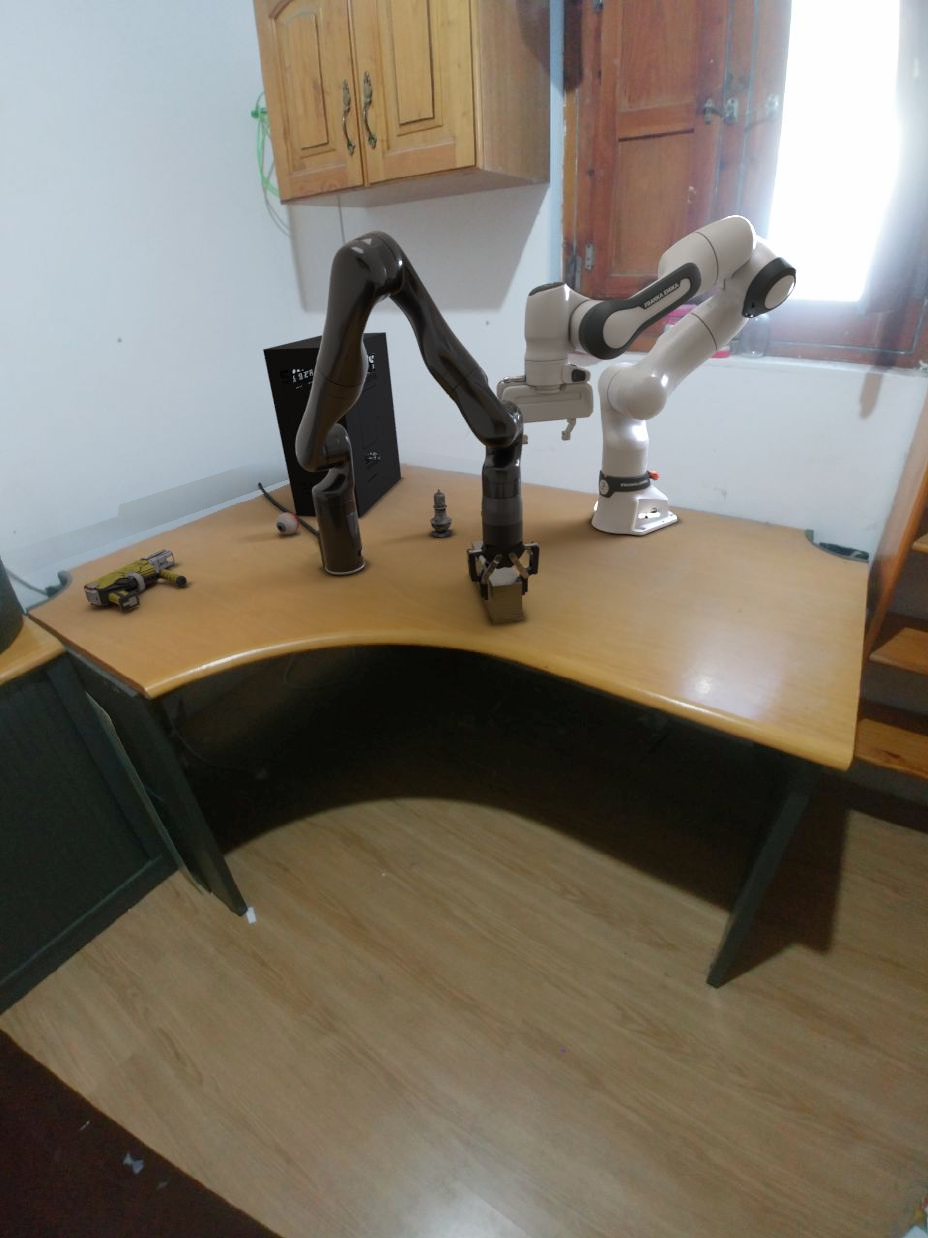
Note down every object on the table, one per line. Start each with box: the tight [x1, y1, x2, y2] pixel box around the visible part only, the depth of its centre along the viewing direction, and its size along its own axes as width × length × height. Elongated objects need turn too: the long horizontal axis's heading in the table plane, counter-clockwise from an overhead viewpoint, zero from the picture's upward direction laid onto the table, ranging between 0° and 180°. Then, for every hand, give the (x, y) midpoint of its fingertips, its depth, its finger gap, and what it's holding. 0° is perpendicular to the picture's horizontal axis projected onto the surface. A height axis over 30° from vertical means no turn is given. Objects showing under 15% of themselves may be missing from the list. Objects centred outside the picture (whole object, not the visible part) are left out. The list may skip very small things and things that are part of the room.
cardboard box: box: [262, 331, 402, 518], centre depth 180 cm, size 38×20×45 cm, turn 167°
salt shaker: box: [429, 488, 453, 538], centre depth 157 cm, size 6×6×12 cm
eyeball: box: [275, 511, 300, 536], centre depth 163 cm, size 6×6×6 cm
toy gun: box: [83, 548, 188, 613], centre depth 139 cm, size 5×24×15 cm
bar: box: [471, 540, 523, 625], centre depth 126 cm, size 22×6×8 cm, turn 10°
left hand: (503, 595), depth 119 cm, fingers open, 7 cm apart
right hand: (544, 441), depth 130 cm, fingers open, 8 cm apart
